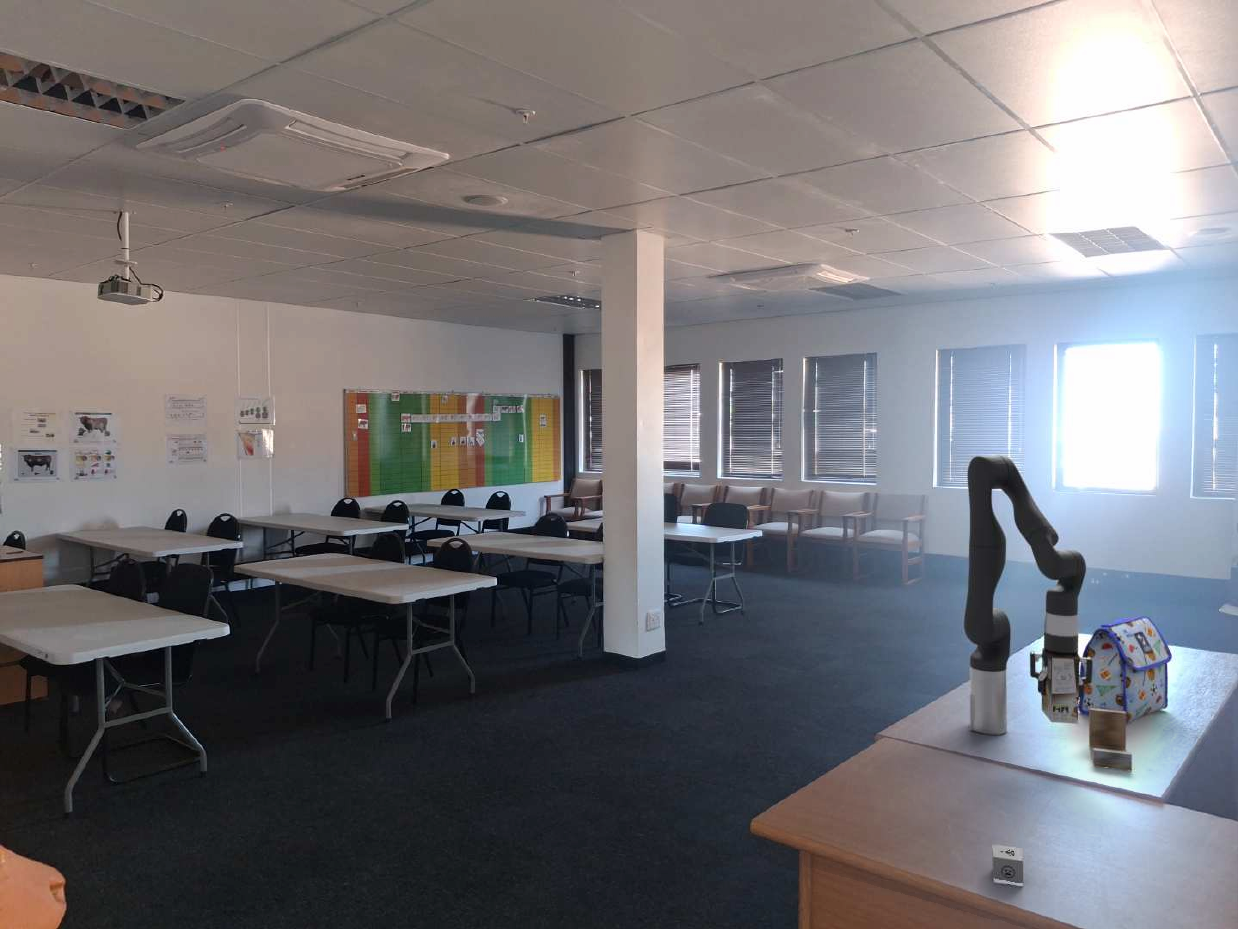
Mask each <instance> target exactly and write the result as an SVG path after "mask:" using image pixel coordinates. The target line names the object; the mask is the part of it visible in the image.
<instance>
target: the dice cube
mask: <svg viewBox="0 0 1238 929" xmlns="http://www.w3.org/2000/svg"><path fill="white" fill-rule="evenodd" d="M991 846H992V847H991V849H992V851H991V852H992V854H991V855H992V857H991V860H992V861H991V862H992V863H991V864H992V865H991V866H993V870H992V879H993V878H995V879H999V880H1006V881H1010V882H1015V883H1023V884H1024V857H1023V851H1022V848H1021V847H1015V846H1009V845H1001V844H994V843H992V844H991Z"/></svg>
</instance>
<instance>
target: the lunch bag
mask: <svg viewBox="0 0 1238 929" xmlns="http://www.w3.org/2000/svg"><path fill="white" fill-rule="evenodd" d="M1081 657H1084V658H1087V657H1091V658H1092V661H1093V665H1092V682H1091V683H1090V684H1088V683H1086V684H1084V685H1083V696H1082V698H1080V697H1079V703H1078V713H1081V714H1083V715H1086V716H1089V708H1096V709H1106V710H1116V711H1125V713H1126V724H1127V723H1130V722H1132V721H1134V720H1136V719H1139V718H1142V717H1144V716H1146V715H1148V714H1152V713H1154V712H1157V711H1160V710H1166V709H1167V707H1168V706H1169V705H1168V702H1169V700H1168V694H1169V692H1168V688H1169V686H1168V685H1169V682H1168V681H1169V676H1168V675H1169V672H1168V663H1169V662H1171V660H1172V658H1173V655H1172V653H1171V649H1170V647H1169V645H1168V644H1167V642H1166V640H1165V639H1164V637H1163V635H1162V634H1161V632H1160V631H1159V629H1158V627H1157V625H1155V623H1154V621H1153V620H1152V619H1151V618H1150V617H1149V616H1146V615H1140V616H1139V615H1138V616H1135V617H1126V618H1121V619H1118V620H1115V621H1114V622H1112V623H1110V624H1101V625H1100V627H1099V628H1097V629H1096V630H1094V631H1093V634H1092V636H1091V638H1090V640H1089V641H1088V642H1087V644H1086V645H1085V648H1084V650H1083V653H1082V656H1081ZM1085 674H1086V667H1084V666H1083V663H1082V662H1080V664H1079V675H1080V676H1081V678H1082V677H1085Z"/></svg>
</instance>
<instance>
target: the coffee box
mask: <svg viewBox="0 0 1238 929" xmlns="http://www.w3.org/2000/svg"><path fill="white" fill-rule="evenodd" d="M1041 649H1042V650H1041V653H1042V652H1043V650H1044V647H1043V648H1041ZM1079 661H1080V659H1079V658H1078V657H1077V656H1074V655H1066V654H1047V664H1046V663H1045V662H1044V660H1043V659H1042V658H1041V670H1042V669H1043V667H1045V668H1046V667H1047V666H1048V668H1047V676H1046V677H1045V678H1044V696H1043V695H1041V712H1042V713H1043V715H1045V716H1046V717H1047V719H1048V720H1049V721H1050V722H1051V723H1062V724H1075V725H1076V724H1077V725H1078V723H1079V709H1078V705H1079V699H1080V697H1079V675H1080V662H1079Z"/></svg>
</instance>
